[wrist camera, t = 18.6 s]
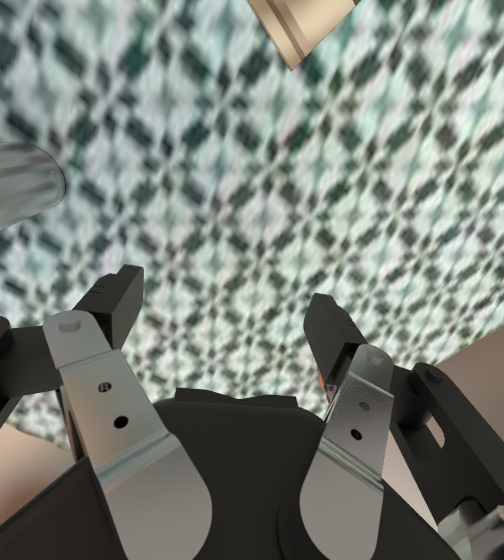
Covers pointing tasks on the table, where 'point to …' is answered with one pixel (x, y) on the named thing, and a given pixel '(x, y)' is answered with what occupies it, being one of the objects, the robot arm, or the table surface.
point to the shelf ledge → (299, 23)
